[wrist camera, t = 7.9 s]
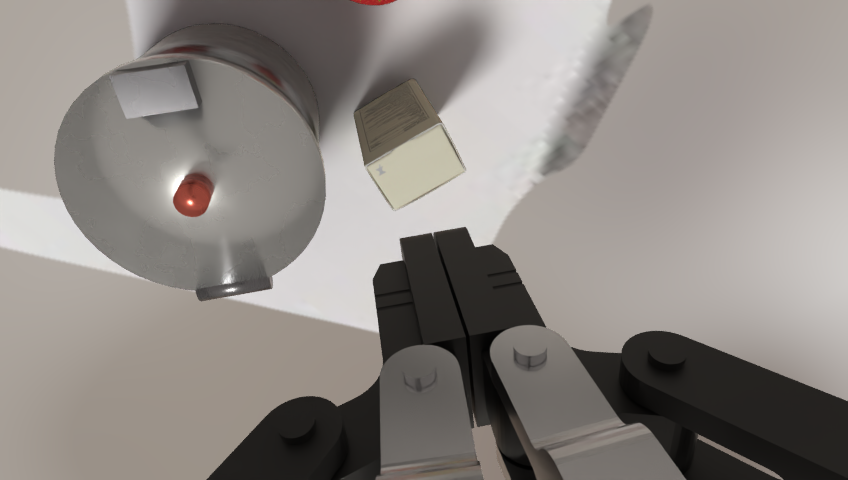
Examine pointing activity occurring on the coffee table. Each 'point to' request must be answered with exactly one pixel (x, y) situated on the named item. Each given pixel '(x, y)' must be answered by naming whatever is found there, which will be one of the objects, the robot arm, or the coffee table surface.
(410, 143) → the skincare box
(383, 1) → the strawberry
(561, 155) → the coffee table surface
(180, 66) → the cooker lid
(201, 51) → the cooker pot
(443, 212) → the coffee table surface
